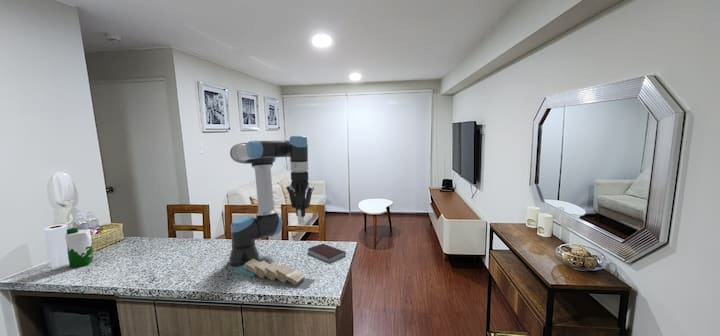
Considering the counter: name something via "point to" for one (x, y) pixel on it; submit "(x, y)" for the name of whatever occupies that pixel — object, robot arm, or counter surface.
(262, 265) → the beige wooden block
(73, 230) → the milk carton
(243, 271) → the tile
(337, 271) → the counter surface
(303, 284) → the runner mat
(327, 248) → the book
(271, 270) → the light wood flat block
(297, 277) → the tile
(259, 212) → the robot arm
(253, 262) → the light wood flat block
